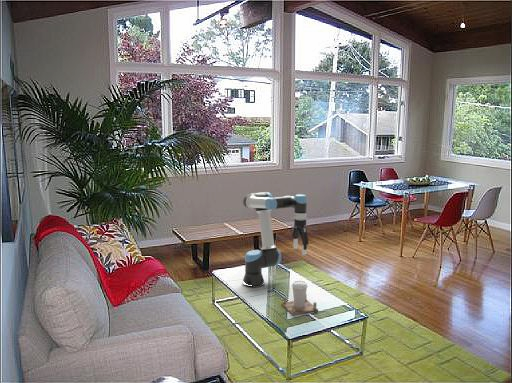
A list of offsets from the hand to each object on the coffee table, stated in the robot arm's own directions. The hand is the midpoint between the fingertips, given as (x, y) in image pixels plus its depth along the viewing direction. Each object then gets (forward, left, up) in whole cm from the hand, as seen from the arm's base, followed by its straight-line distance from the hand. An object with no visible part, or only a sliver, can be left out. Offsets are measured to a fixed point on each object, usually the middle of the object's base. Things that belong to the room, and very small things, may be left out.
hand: (299, 251), depth 271 cm
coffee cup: (+13, -6, -31) cm, 34 cm away
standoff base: (+13, -6, -32) cm, 35 cm away
